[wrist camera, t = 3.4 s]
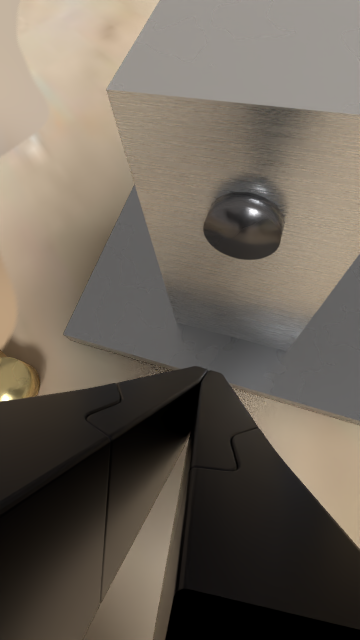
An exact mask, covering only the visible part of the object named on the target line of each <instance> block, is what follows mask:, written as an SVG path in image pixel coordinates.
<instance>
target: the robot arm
mask: <svg viewBox="0 0 360 640" xmlns="http://www.w3.org/2000/svg"><path fill="white" fill-rule="evenodd" d="M189 435H190V436H189ZM188 438H189V441H188V446H187V451H186V457H185V463H184V468H183V474H182V479H181V485H180V490H179V496H178V502H177V507H176V513H175V518H174V524H173V529H172V535H171V540H170V546H169V552H168V557H167V563H166V568H165V574H164V579H163V585H162V591H161V596H160V602H159V607H158V613H157V618H156V624H155V630H154V635H153V640H360V549H359V548H358V547H357V545H356V544H355V543H354V542H353V541H352V540H351V538H350V537H349V536H348V535H347V534H346V533H345V532H344V530H343V529H342V528H341V527H340V526H339V525H338V523H337V522H336V521H335V520H334V519H333V518H332V517H331V515H330V514H329V513H328V512H327V511H326V510H325V508H324V507H323V506H322V505H321V504H320V503H319V501H318V500H317V499H316V498H315V497H314V496H313V495H312V493H311V492H310V491H309V490H308V489H307V488H306V486H305V485H304V484H303V483H302V482H301V481H300V480H299V478H298V477H297V476H296V475H295V474H294V473H293V471H292V470H291V469H290V468H289V467H288V466H287V464H286V463H285V462H284V461H283V459H282V458H281V457H280V456H279V455H278V453H277V452H276V451H275V449H274V448H273V447H272V445H271V444H270V443H269V441H268V440H267V439H266V437H265V436H264V434H263V433H262V431H261V430H260V429H259V428H258V426H257V425H256V423H255V422H254V420H253V419H252V417H251V416H250V414H249V413H248V411H247V410H246V408H245V407H244V405H243V404H242V402H241V401H240V399H239V398H238V396H237V395H236V393H235V392H234V390H233V389H232V387H231V386H230V384H229V383H228V381H227V380H226V378H225V377H224V375H223V374H222V373H219V372H216V371H212V370H209V371H208V370H207V369H205V368H202V367H198V366H192V367H188V368H183V369H179V370H174V371H170V372H165V373H160V374H156V375H151V376H147V377H142V378H138V379H133V380H129V381H124V382H120V383H117V384H116V383H113V384H108V385H104V386H98V387H93V388H88V389H82V390H76V391H70V392H63V393H56V394H49V395H42V396H35V397H28V398H21V399H14V400H7V401H0V640H83V639H84V636H85V634H86V632H87V630H88V628H89V626H90V624H91V622H92V620H93V618H94V616H95V614H96V612H97V610H98V608H99V605H100V603H101V602H102V600H103V598H104V597H105V595H106V593H107V591H108V589H109V587H110V585H111V583H112V581H113V580H114V578H115V576H116V574H117V572H118V570H119V568H120V566H121V565H122V563H123V561H124V559H125V557H126V555H127V553H128V551H129V549H130V548H131V546H132V544H133V542H134V540H135V538H136V536H137V534H138V532H139V531H140V529H141V527H142V525H143V523H144V521H145V519H146V517H147V516H148V514H149V512H150V510H151V508H152V506H153V504H154V502H155V500H156V499H157V497H158V495H159V493H160V491H161V489H162V487H163V485H164V483H165V482H166V480H167V478H168V476H169V474H170V472H171V470H172V468H173V467H174V465H175V463H176V461H177V459H178V457H179V455H180V453H181V451H182V450H183V448H184V446H185V444H186V442H187V440H188Z"/></svg>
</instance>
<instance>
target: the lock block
mask: <svg viewBox="0 0 360 640" xmlns="http://www.w3.org/2000/svg"><path fill="white" fill-rule="evenodd" d="M106 91H107V94H108V97H109V101H110V104H111V107H112V111H113V114H114V117H115V121H116V124H117V127H118V131H119V134H120V137H121V141H122V144H123V147H124V151H125V154H126V157H127V161H128V164H129V167H130V171H131V174H132V177H133V181H134V184H135V187H136V191H137V194H138V197H139V201H140V204H141V207H142V211H143V214H144V217H145V221H146V224H147V227H148V231H149V234H150V237H151V241H152V244H153V247H154V251H155V254H156V257H157V260H158V264H159V267H160V270H161V274H162V277H163V280H164V284H165V287H166V290H167V294H168V297H169V300H170V304H171V307H172V310H173V314H174V317H175V320H176V322H177V323H181V324H185V325H188V326H192V327H196V328H200V329H204V330H208V331H212V332H215V333H219V334H223V335H227V336H231V337H235V338H238V339H242V340H246V341H250V342H254V343H258V344H262V345H265V346H269V347H273V348H277V349H281V350H285V351H288V349H289V348H290V346H291V345H292V344H293V342H294V341H295V340H296V338H297V337H298V336H299V334H300V333H301V332H302V330H303V329H304V328H305V326H306V325H307V324H308V322H309V321H310V320H311V318H312V317H313V316H314V314H315V313H316V312H317V310H318V309H319V308H320V306H321V305H322V304H323V302H324V301H325V300H326V298H327V297H328V295H329V294H330V293H331V291H332V290H333V289H334V287H335V286H336V285H337V283H338V282H339V281H340V279H341V278H342V277H343V275H344V274H345V273H346V271H347V270H348V269H349V267H350V266H351V265H352V263H353V262H354V261H355V259H356V258H357V257H358V255H359V254H360V0H160V1H159V3H158V4H157V6H156V8H155V9H154V11H153V13H152V14H151V16H150V18H149V19H148V21H147V23H146V24H145V26H144V28H143V29H142V31H141V32H140V34H139V36H138V37H137V39H136V41H135V42H134V44H133V46H132V47H131V49H130V51H129V52H128V54H127V56H126V57H125V59H124V61H123V62H122V64H121V66H120V67H119V69H118V71H117V72H116V74H115V76H114V77H113V79H112V81H111V82H110V84H109V86H108V87H107V89H106Z"/></svg>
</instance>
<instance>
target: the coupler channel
mask: <svg viewBox="0 0 360 640" xmlns="http://www.w3.org/2000/svg"><path fill="white" fill-rule="evenodd" d="M63 335H65V336H66V337H67V338H68V339H70V340H72V341H75V342H79V343H82V344H85V345H89V346H92V347H96V348H99V349H102V350H106V351H109V352H113V353H116V354H119V355H123V356H126V357H130V358H133V359H136V360H140V361H143V362H147V363H150V364H153V365H157V366H160V367H164V368H167V369H170V370H179V369H183V368H188V367H192V366H198V367H202V368H205V369H207V370H208V371H209V370H212V371H216V372H219V373H222V374H223V375H224V377H225V378H226V380H227V381H228V383H229V384H230V386H231V387H232V388H235V389H238V390H242V391H245V392H248V393H252V394H255V395H259V396H262V397H265V398H269V399H272V400H276V401H279V402H282V403H286V404H289V405H293V406H296V407H299V408H303V409H306V410H310V411H313V412H316V413H320V414H323V415H327V416H330V417H333V418H337V419H340V420H343V421H347V422H350V423H354V424H357V425H360V254H359V255H358V257H357V258H356V259H355V261H354V262H353V263H352V265H351V266H350V267H349V269H348V270H347V271H346V273H345V274H344V275H343V277H342V278H341V279H340V281H339V282H338V283H337V285H336V286H335V287H334V289H333V290H332V291H331V293H330V294H329V295H328V297H327V298H326V300H325V301H324V302H323V304H322V305H321V306H320V308H319V309H318V310H317V312H316V313H315V314H314V316H313V317H312V318H311V320H310V321H309V322H308V324H307V325H306V326H305V328H304V329H303V330H302V332H301V333H300V334H299V336H298V337H297V338H296V340H295V341H294V342H293V344H292V345H291V346H290V348H289V349H288V351H285V350H281V349H277V348H273V347H269V346H265V345H262V344H258V343H254V342H250V341H246V340H242V339H238V338H235V337H231V336H227V335H223V334H219V333H215V332H212V331H208V330H204V329H200V328H196V327H192V326H188V325H185V324H181V323H177V322H176V320H175V317H174V314H173V310H172V307H171V304H170V300H169V297H168V294H167V290H166V287H165V284H164V280H163V277H162V274H161V270H160V267H159V264H158V260H157V257H156V254H155V251H154V247H153V244H152V241H151V237H150V234H149V231H148V227H147V224H146V221H145V217H144V214H143V211H142V207H141V204H140V201H139V197H138V194H137V191H136V187H135V184H134V186H133V188H132V191H131V193H130V195H129V197H128V199H127V201H126V203H125V205H124V207H123V209H122V212H121V214H120V216H119V218H118V220H117V222H116V224H115V226H114V228H113V230H112V233H111V235H110V237H109V239H108V241H107V243H106V245H105V247H104V249H103V252H102V254H101V256H100V258H99V260H98V262H97V264H96V266H95V268H94V270H93V273H92V275H91V277H90V279H89V281H88V283H87V285H86V287H85V289H84V291H83V294H82V296H81V298H80V300H79V302H78V304H77V306H76V308H75V310H74V312H73V315H72V317H71V319H70V321H69V323H68V325H67V327H66V329H65V331H64V333H63Z"/></svg>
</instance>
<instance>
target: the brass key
mask: <svg viewBox="0 0 360 640" xmlns="http://www.w3.org/2000/svg"><path fill="white" fill-rule="evenodd" d="M39 386H40V381H39V376H38V373H37V371H36V370H35V369H34V368H33V367H32V366H31V365H29V364H27V363H24V362H22V361H20V360H18V359H15V358H12V357H7V356H6V355H5V354H4V353H3V352H2V351H1V350H0V401H7V400H14V399H21V398H28V397H35V396H37V394H38V391H39Z"/></svg>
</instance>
